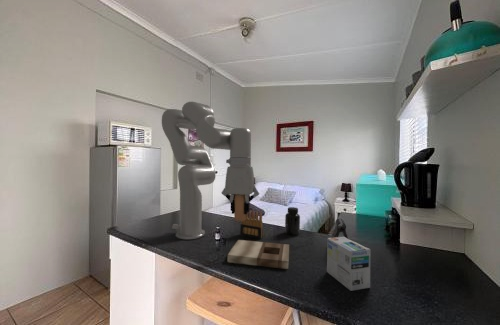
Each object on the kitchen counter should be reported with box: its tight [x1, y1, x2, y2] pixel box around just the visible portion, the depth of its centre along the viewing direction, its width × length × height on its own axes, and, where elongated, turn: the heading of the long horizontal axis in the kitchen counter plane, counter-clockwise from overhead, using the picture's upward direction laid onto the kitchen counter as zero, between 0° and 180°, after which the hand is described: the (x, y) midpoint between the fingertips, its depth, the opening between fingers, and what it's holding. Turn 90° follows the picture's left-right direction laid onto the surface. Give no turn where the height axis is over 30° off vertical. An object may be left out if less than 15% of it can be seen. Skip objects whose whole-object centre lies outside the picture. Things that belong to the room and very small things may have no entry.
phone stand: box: [330, 218, 349, 239], centre depth 83 cm, size 9×6×12 cm, turn 73°
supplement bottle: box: [284, 206, 301, 237], centre depth 103 cm, size 7×7×12 cm
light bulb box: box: [326, 236, 371, 292], centre depth 63 cm, size 11×7×11 cm, turn 17°
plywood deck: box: [227, 239, 290, 270], centre depth 78 cm, size 20×14×2 cm
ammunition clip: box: [239, 209, 264, 240], centre depth 98 cm, size 11×2×12 cm, turn 63°
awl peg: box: [233, 195, 246, 222], centre depth 79 cm, size 4×4×10 cm
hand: (240, 212), depth 79 cm, fingers closed on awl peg, 4 cm apart
